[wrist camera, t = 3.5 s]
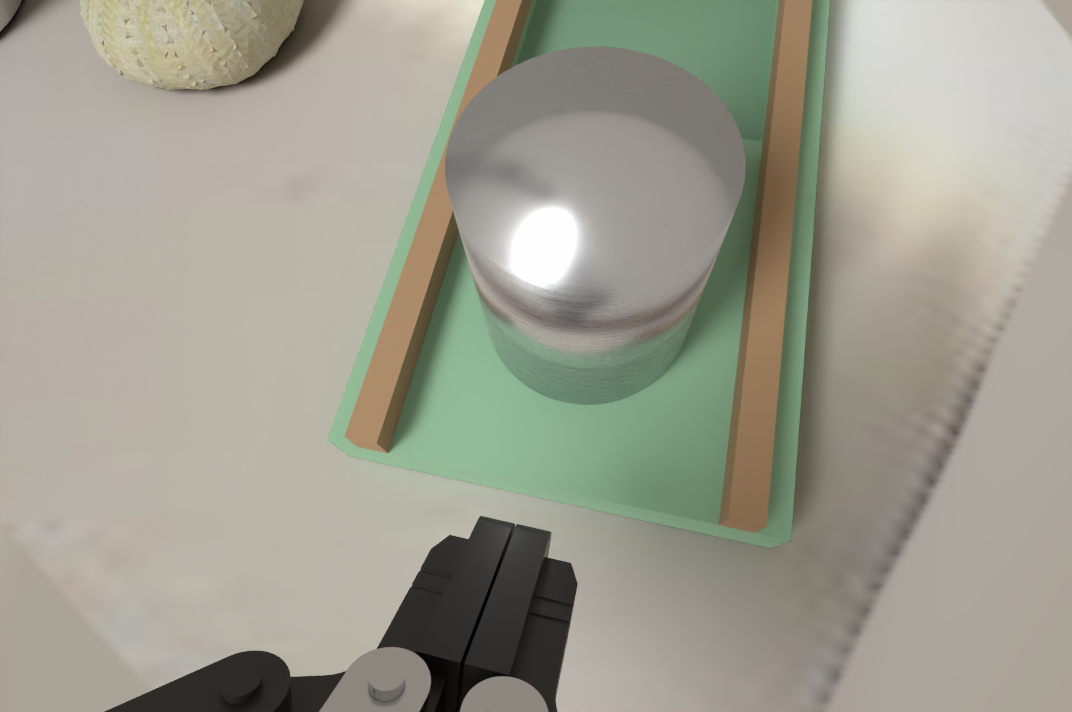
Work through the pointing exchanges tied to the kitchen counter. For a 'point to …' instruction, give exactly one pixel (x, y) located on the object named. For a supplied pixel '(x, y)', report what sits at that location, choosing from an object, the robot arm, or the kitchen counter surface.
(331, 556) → the kitchen counter surface
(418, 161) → the kitchen counter surface
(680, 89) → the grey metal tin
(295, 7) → the sea urchin shell
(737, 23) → the green railed board
